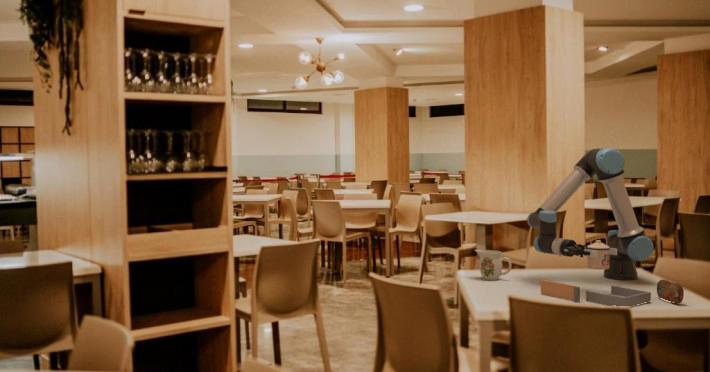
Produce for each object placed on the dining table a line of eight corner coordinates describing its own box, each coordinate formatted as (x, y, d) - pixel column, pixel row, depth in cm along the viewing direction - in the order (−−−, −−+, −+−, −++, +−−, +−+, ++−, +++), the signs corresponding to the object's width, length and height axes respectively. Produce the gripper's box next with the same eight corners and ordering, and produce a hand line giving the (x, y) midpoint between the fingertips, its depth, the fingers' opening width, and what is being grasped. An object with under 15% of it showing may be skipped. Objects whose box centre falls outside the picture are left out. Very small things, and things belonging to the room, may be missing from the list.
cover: (540, 293, 272) (540, 279, 272) (542, 293, 273) (542, 279, 272) (578, 301, 256) (578, 286, 256) (580, 301, 257) (580, 286, 257)
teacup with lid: (605, 270, 260) (606, 242, 259) (583, 268, 265) (583, 240, 265) (614, 266, 269) (615, 239, 268) (593, 264, 275) (593, 237, 274)
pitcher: (508, 282, 298) (508, 253, 297) (471, 279, 306) (471, 251, 306) (514, 278, 307) (514, 250, 307) (478, 275, 316) (478, 248, 315)
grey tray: (608, 294, 269) (608, 280, 269) (650, 302, 253) (650, 287, 253) (573, 301, 256) (573, 287, 256) (615, 310, 240) (615, 294, 240)
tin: (655, 297, 261) (656, 277, 261) (663, 297, 262) (663, 277, 261) (677, 306, 246) (677, 284, 246) (685, 305, 247) (685, 284, 246)
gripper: (582, 253, 288) (625, 259, 270) (546, 258, 276) (588, 264, 257) (582, 237, 288) (625, 242, 270) (546, 241, 275) (588, 246, 257)
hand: (607, 253), depth 263 cm, fingers closed on teacup with lid, 12 cm apart
